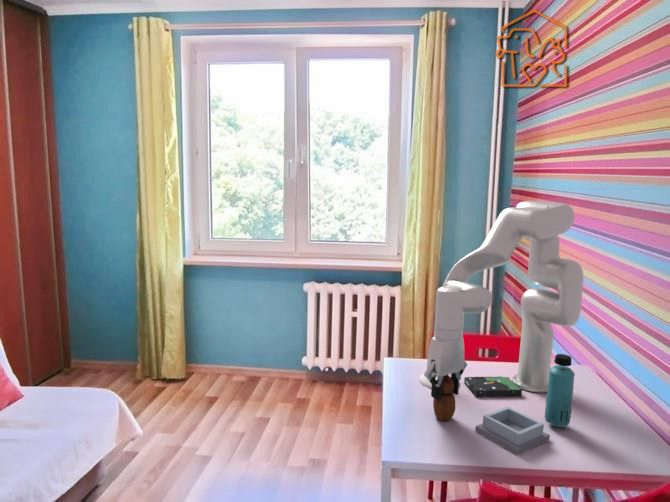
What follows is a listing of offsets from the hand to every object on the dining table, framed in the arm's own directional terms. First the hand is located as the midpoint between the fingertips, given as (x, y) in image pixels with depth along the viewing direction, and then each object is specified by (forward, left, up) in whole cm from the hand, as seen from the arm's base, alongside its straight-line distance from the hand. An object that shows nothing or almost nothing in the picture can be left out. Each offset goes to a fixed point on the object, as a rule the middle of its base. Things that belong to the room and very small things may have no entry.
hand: (444, 395), depth 138 cm
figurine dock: (-9, +16, -7) cm, 19 cm away
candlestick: (-17, -18, -7) cm, 25 cm away
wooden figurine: (0, 0, -7) cm, 7 cm away
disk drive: (-27, -5, -8) cm, 29 cm away
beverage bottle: (-24, +19, -7) cm, 31 cm away
